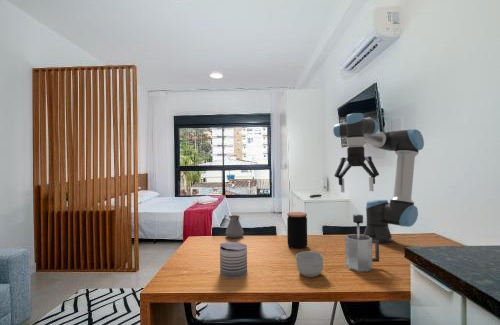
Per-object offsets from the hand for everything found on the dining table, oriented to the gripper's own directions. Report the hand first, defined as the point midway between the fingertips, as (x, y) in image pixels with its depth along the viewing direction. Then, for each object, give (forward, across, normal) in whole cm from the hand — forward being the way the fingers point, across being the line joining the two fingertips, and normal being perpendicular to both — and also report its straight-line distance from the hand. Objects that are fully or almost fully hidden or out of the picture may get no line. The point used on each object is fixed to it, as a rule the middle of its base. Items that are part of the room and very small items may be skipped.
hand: (357, 191), depth 132 cm
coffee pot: (+31, +60, -39) cm, 78 cm away
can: (+30, +59, +15) cm, 68 cm away
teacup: (+31, +27, +16) cm, 44 cm away
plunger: (+29, +4, +11) cm, 31 cm away
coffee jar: (+32, +26, -21) cm, 46 cm away
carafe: (+32, +3, +11) cm, 33 cm away
